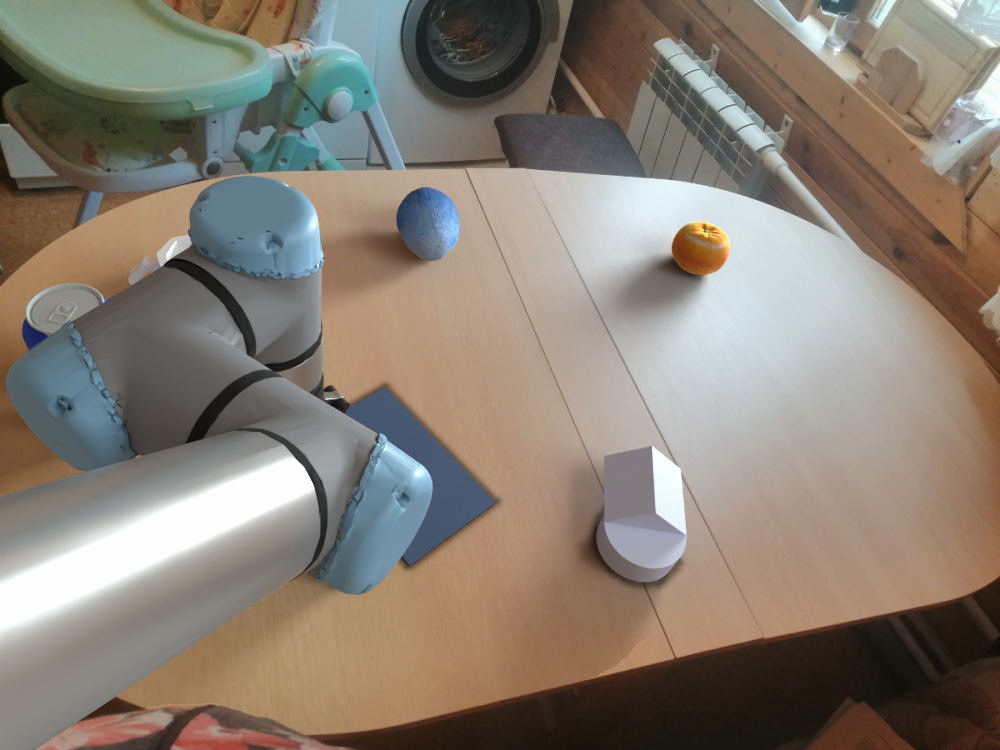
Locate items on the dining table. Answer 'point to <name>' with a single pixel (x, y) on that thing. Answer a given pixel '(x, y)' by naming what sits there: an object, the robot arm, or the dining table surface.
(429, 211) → the egg
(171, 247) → the mug
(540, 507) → the dining table surface
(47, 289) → the beer can
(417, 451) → the mat
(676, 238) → the fruit
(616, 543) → the wedge on round base
